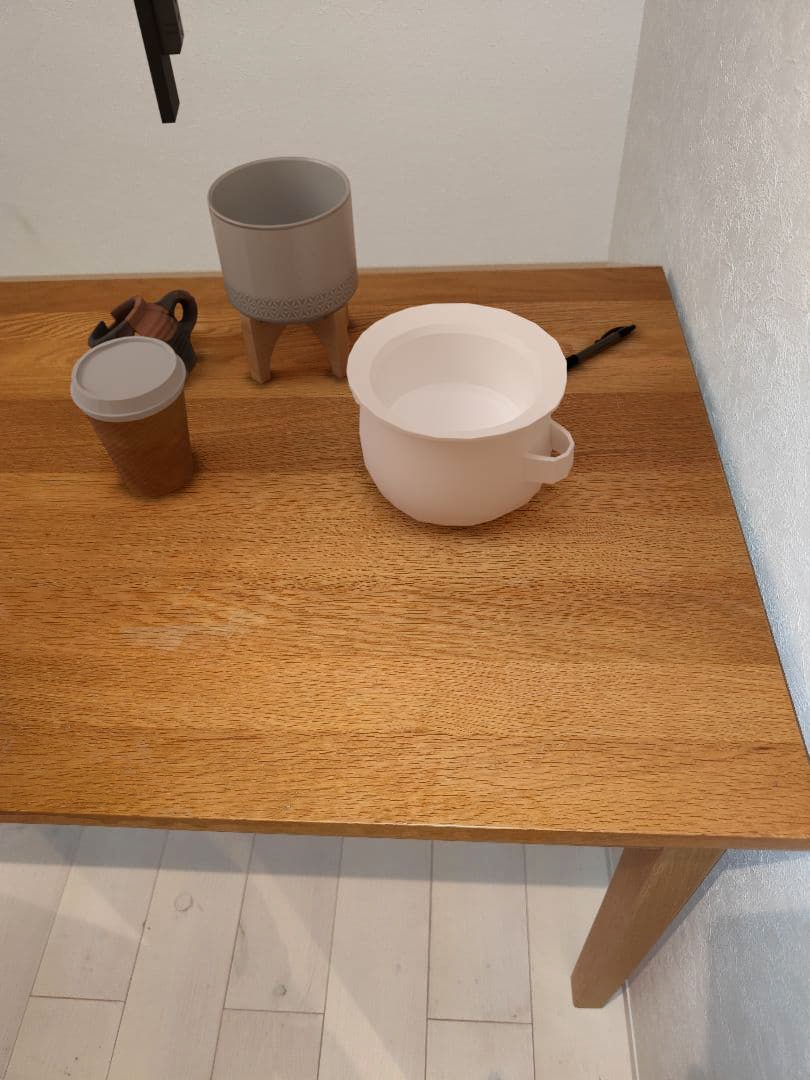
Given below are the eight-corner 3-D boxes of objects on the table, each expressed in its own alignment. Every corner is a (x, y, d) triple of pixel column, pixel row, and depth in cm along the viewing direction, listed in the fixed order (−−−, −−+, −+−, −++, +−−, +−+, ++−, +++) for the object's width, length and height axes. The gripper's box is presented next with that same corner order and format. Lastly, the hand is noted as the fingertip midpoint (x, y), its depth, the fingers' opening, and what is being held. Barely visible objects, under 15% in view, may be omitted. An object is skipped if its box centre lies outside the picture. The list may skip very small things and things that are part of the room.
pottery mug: (163, 410, 89) (103, 349, 84) (124, 407, 96) (66, 351, 91) (236, 325, 93) (182, 262, 88) (192, 328, 100) (140, 270, 95)
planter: (303, 301, 100) (281, 143, 87) (389, 345, 94) (380, 183, 81) (215, 356, 94) (177, 195, 80) (301, 407, 88) (275, 242, 74)
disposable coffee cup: (85, 483, 82) (40, 378, 73) (159, 425, 87) (126, 320, 78) (158, 524, 78) (121, 419, 69) (232, 461, 83) (206, 355, 74)
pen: (626, 326, 95) (627, 317, 94) (638, 333, 94) (639, 324, 93) (529, 379, 89) (529, 370, 88) (540, 387, 88) (541, 378, 88)
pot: (300, 479, 81) (281, 371, 72) (413, 381, 90) (410, 273, 81) (504, 590, 72) (513, 481, 63) (608, 467, 81) (629, 357, 72)
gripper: (-490, -394, 33) (-188, 164, 49) (183, -428, 34) (266, 135, 50) (-385, -403, 38) (-142, 107, 54) (199, -432, 39) (270, 81, 55)
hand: (54, 121), depth 52 cm, fingers open, 13 cm apart
